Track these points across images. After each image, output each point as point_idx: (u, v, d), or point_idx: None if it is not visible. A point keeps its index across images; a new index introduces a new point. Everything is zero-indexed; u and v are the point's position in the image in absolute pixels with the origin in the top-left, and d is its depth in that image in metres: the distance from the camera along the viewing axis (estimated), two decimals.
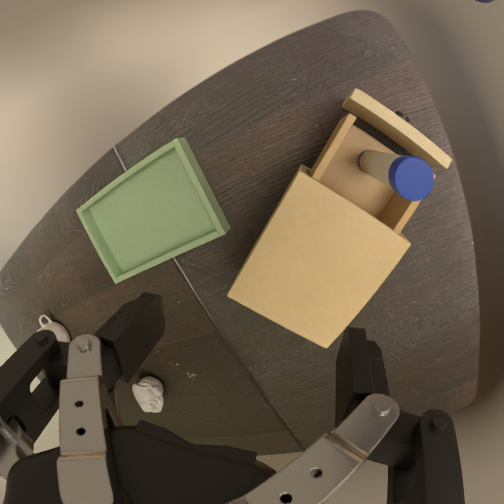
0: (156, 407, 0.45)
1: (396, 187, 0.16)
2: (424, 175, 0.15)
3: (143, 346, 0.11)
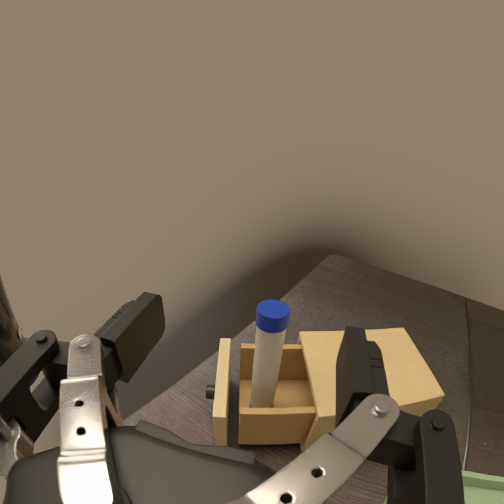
0: None
1: (288, 314, 0.24)
2: (266, 305, 0.25)
3: (143, 346, 0.11)
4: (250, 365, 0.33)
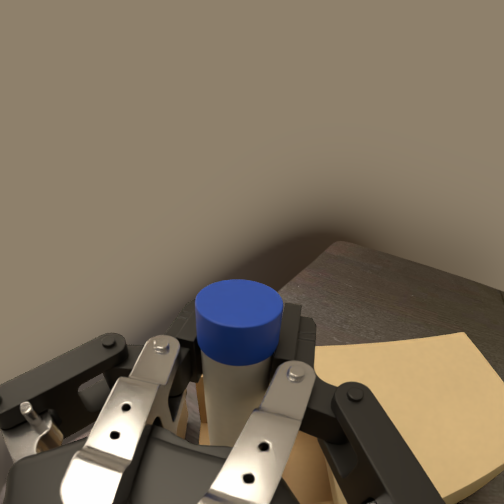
0: None
1: (277, 316, 0.09)
2: (221, 292, 0.09)
3: None
4: None
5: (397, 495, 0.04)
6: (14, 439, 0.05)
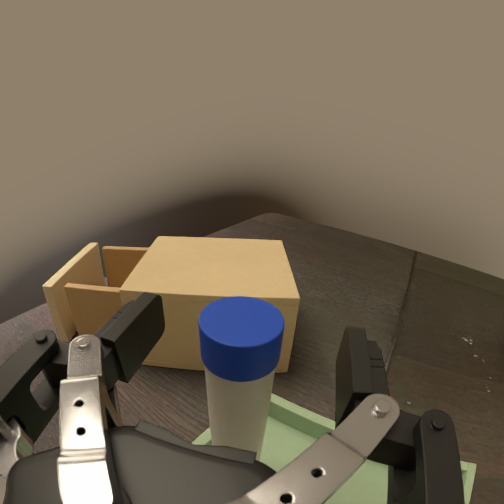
0: None
1: (278, 335, 0.09)
2: (224, 310, 0.10)
3: (143, 346, 0.11)
4: (113, 270, 0.32)
5: None
6: None
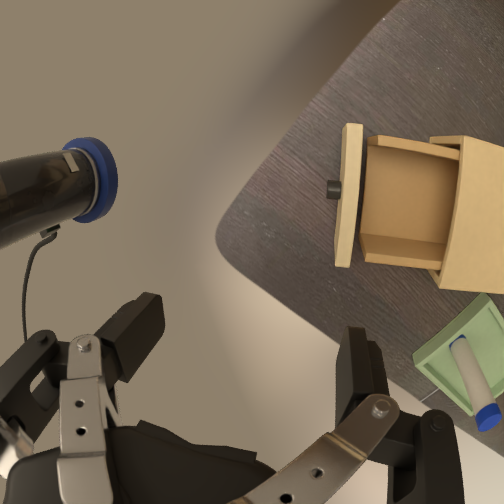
0: None
1: (494, 425, 0.16)
2: (488, 421, 0.16)
3: (143, 346, 0.11)
4: (386, 147, 0.21)
5: None
6: None
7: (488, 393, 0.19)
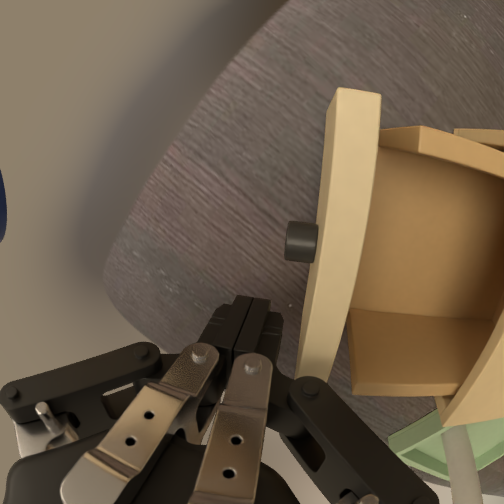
0: None
1: None
2: None
3: None
4: (421, 154, 0.09)
5: (374, 484, 0.04)
6: (26, 435, 0.05)
7: None
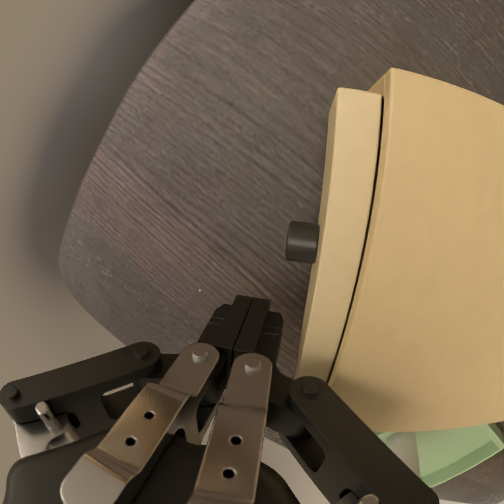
0: None
1: None
2: None
3: None
4: None
5: (374, 484, 0.04)
6: (26, 435, 0.05)
7: None
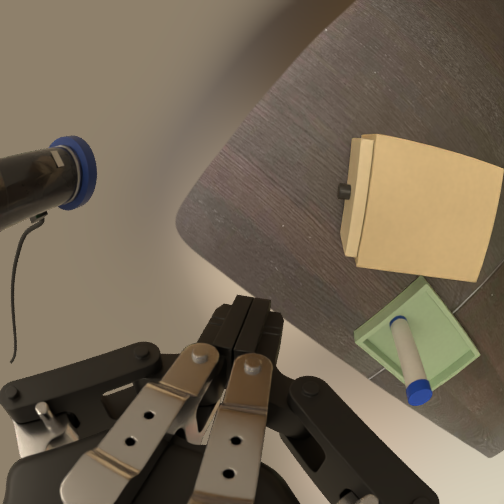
0: None
1: (426, 401, 0.24)
2: (417, 395, 0.23)
3: None
4: None
5: (374, 483, 0.04)
6: (26, 435, 0.05)
7: (419, 369, 0.26)
